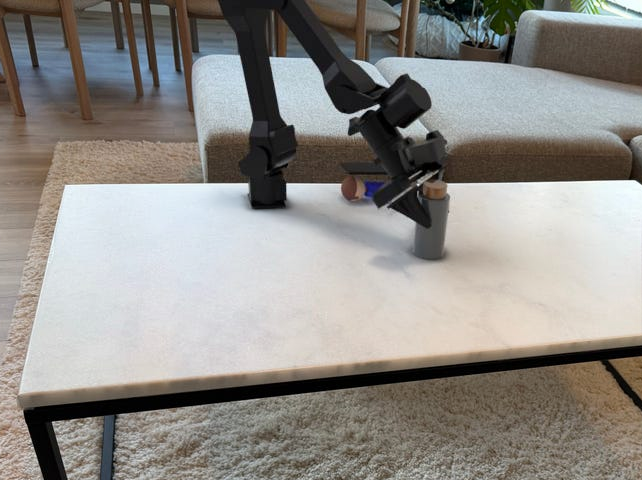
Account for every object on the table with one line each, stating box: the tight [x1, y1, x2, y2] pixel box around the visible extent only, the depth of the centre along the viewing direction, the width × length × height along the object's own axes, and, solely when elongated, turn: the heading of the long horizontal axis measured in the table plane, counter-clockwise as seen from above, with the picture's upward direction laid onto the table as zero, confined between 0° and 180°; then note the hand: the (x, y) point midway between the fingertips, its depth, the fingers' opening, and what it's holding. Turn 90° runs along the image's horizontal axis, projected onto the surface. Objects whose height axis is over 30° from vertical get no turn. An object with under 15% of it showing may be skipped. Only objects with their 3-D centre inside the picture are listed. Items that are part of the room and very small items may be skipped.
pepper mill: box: [412, 179, 451, 260], centre depth 121 cm, size 6×6×13 cm
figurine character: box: [339, 161, 418, 202], centre depth 141 cm, size 7×8×15 cm
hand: (438, 220), depth 121 cm, fingers open, 7 cm apart
